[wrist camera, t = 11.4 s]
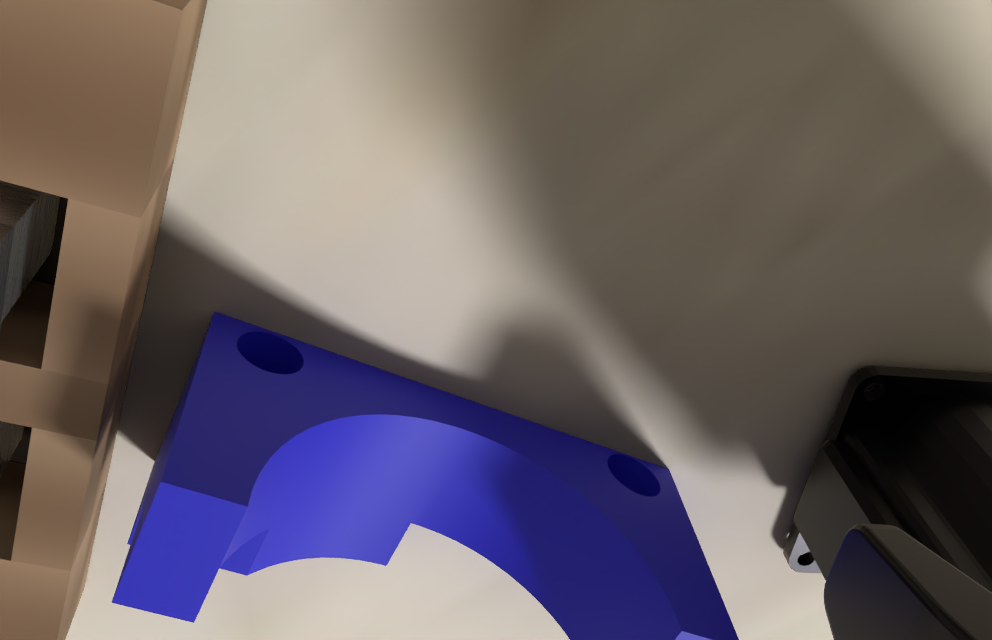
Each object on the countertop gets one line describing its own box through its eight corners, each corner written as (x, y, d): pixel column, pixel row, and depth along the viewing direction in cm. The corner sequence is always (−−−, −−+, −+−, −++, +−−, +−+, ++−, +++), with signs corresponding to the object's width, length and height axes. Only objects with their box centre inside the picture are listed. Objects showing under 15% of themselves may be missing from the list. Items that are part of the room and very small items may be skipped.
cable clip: (156, 456, 23) (90, 656, 18) (215, 307, 21) (160, 481, 16) (584, 582, 26) (632, 778, 21) (667, 464, 25) (742, 648, 19)
